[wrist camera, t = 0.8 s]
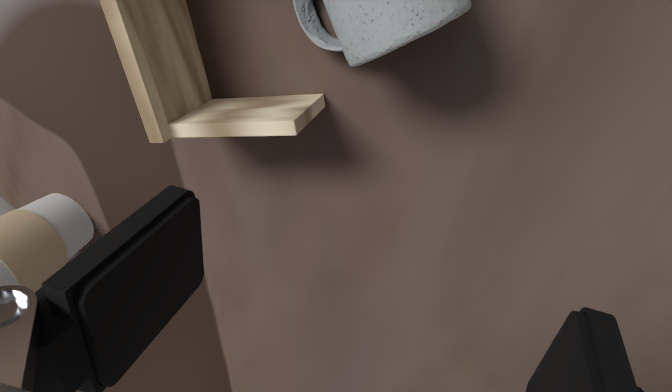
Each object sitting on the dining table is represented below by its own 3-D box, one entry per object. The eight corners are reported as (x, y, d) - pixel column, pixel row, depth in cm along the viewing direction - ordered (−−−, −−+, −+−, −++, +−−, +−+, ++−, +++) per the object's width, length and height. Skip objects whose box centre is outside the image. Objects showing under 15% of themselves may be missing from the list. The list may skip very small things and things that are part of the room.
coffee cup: (20, 197, 50) (-133, 281, 38) (63, 173, 46) (-94, 258, 34) (72, 258, 53) (-55, 355, 41) (116, 241, 49) (-10, 342, 37)
